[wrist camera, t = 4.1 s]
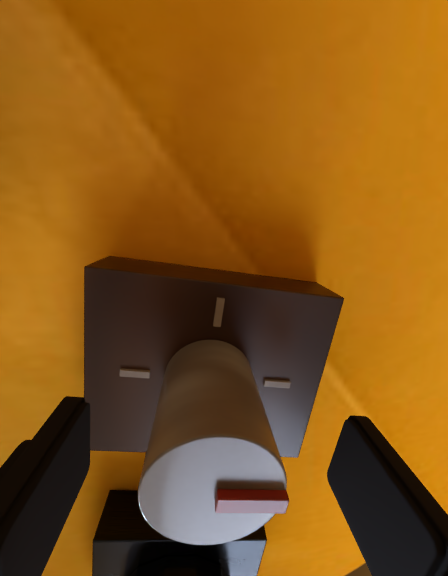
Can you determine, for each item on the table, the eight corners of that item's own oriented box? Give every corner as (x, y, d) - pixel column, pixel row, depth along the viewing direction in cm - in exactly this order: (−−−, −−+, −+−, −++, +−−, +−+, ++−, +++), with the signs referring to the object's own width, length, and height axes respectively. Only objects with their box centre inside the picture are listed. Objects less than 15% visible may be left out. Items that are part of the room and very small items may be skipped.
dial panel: (104, 408, 16) (82, 453, 13) (108, 255, 13) (81, 266, 10) (282, 418, 18) (299, 460, 14) (317, 282, 15) (346, 299, 12)
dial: (160, 411, 13) (130, 560, 7) (168, 334, 12) (139, 441, 6) (243, 416, 13) (274, 558, 8) (258, 343, 12) (306, 448, 7)
